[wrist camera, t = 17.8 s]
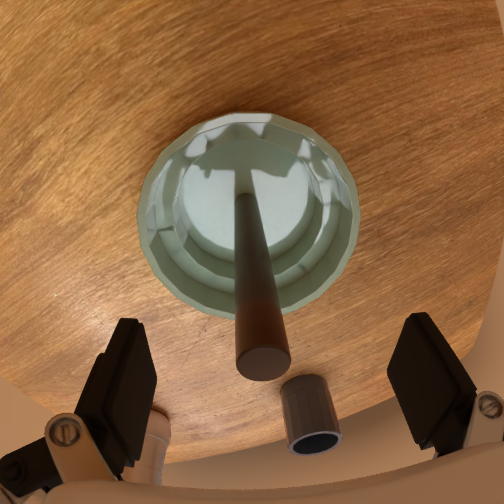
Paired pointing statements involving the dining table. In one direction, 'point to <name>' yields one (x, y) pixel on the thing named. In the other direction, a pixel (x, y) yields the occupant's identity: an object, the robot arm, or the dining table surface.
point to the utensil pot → (309, 416)
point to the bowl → (270, 205)
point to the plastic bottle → (151, 452)
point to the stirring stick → (256, 299)
